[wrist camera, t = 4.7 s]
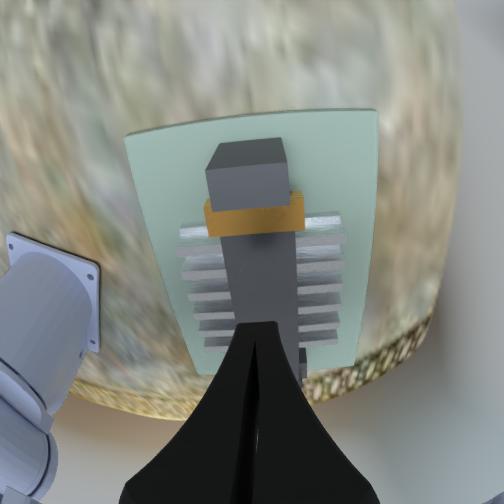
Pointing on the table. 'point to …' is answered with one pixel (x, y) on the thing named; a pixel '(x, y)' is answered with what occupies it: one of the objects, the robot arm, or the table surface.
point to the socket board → (311, 170)
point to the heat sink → (308, 281)
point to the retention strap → (263, 266)
